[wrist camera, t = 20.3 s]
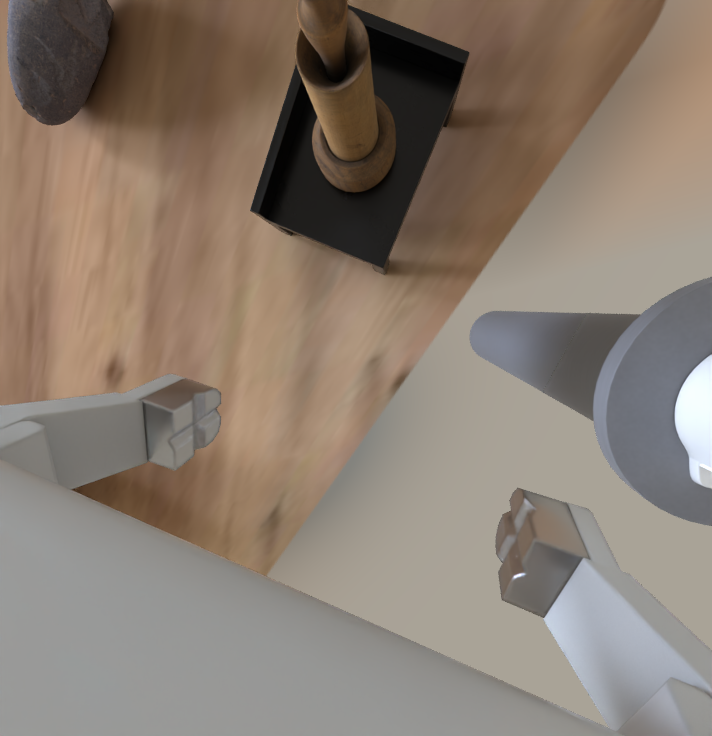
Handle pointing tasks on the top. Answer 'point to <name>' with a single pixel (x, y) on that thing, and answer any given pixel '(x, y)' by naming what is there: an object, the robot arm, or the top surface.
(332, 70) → the mortar and pestle
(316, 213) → the tray
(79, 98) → the perforated stone tool
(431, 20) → the top surface
